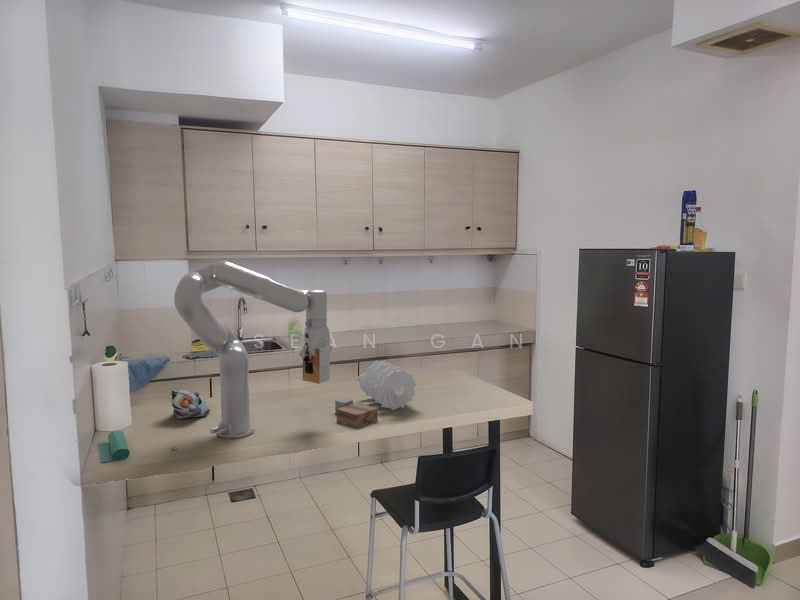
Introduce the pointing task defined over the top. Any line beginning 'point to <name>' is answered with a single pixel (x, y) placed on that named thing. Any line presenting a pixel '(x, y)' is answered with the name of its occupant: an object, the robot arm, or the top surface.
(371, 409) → the walnut block
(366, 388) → the spiral staircase
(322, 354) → the small box
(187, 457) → the top surface
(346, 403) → the slate-grey cube
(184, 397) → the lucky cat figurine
